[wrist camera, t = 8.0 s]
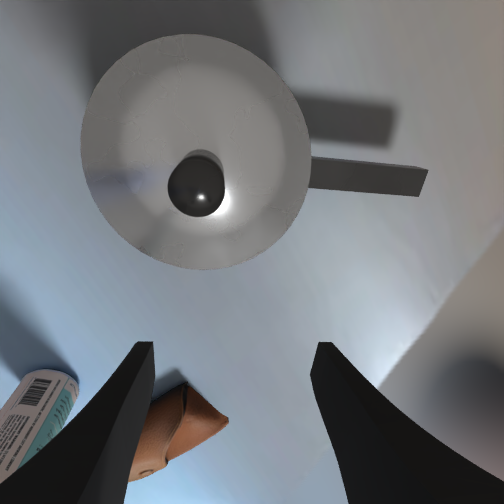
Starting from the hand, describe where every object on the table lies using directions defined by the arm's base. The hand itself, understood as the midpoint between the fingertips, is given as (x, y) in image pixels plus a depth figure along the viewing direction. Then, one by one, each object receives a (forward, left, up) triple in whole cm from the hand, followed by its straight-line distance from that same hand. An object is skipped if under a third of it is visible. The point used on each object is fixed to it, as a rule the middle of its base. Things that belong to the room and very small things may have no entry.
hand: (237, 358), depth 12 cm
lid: (-2, +7, -6) cm, 10 cm away
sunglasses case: (-8, -22, -11) cm, 26 cm away
